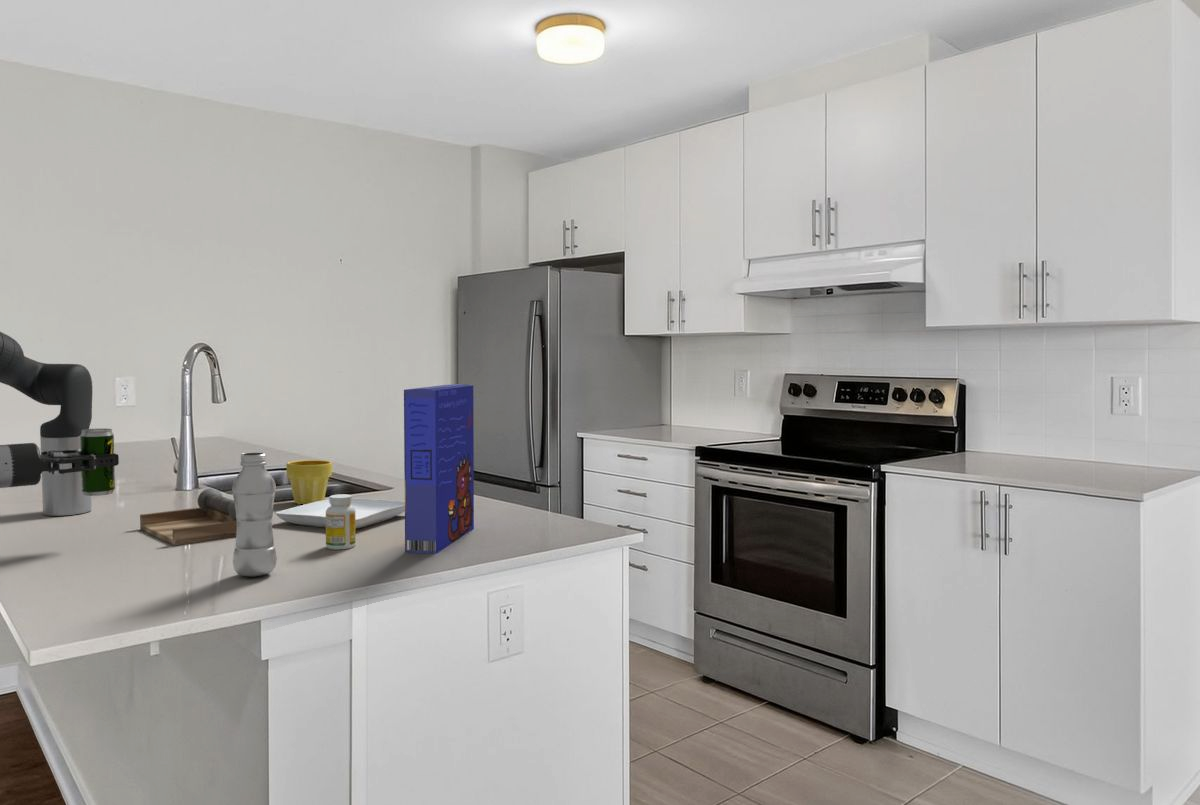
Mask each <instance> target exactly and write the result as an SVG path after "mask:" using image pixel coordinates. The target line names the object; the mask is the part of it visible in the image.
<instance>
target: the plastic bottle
mask: <svg viewBox="0 0 1200 805" xmlns="http://www.w3.org/2000/svg"><path fill="white" fill-rule="evenodd" d="M239 463H240V466H241V467H242V469H241V470H240V471H239V473H238V474H237V475H236V478H235V479H234V481H233V483H232V487H231V488H232V489H231V490H232V493H233V494H232V496H233V500H234V503H235V509H236V519H237V522H236V523H237V532H236V537H235V545H234V547H235V548H234V550H233V556H232V565H233V570H234V572H235V573H236V574H237V575H239V576H242V577H253V578H254V577H261V576H263V575H268V574H270V573H272V572H273V571H274V569H275V568H276V567H277V566H276V565H277V559H278V558H277V551H276V546H275V545H274V544H275V543H274V532H273V531H274V530H273V514H274V513H273V512H274V502H275V497H276V489H277V488H276V487H277V486H276V482H275V478H274V477H273V476H272V475H271V473H270V472H269V471H268V470H267V468H266V467H265V465H267V459H266V453H265V452H244V453H241V454H240V462H239Z"/></svg>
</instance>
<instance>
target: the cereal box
mask: <svg viewBox="0 0 1200 805" xmlns="http://www.w3.org/2000/svg"><path fill="white" fill-rule="evenodd" d="M403 429H404V431H403V441H404V442H403V449H404V450H403V451H404V452H403V453H404V456H403V457H404V462H403V463H404V501H405V512H404V552H405V553H415V554H416V553H419V554H433V555H434V554H439V552H441V551H442V550H444V549H445V548H447V547H449V546H450V545H452V544H453V543H455V542H456V541H458V540H459V539H460V538H463V537H464V536H465V535H467V534H468V533H470V532H472V531H473V530H474V529H475V524H474V523H475V522H474V521H475V513H474V510H475V508H474V507H475V506H474V505H475V503H474V502H475V500H474V499H475V498H474V494H475V493H474V492H475V488H474V484H475V483H474V482H475V481H474V480H475V479H474V477H475V475H474V474H475V472H474V471H475V470H474V469H475V466H474V461H475V460H474V456H475V455H474V453H475V452H474V441H475V440H474V436H475V435H474V385H471V384H466V383H458V384H457V383H454V384H442V385H434V386H433V385H432V386H426V387H423V386H422V387H416V388H415V387H414V388H408V389H403Z"/></svg>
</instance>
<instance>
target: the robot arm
mask: <svg viewBox="0 0 1200 805" xmlns="http://www.w3.org/2000/svg"><path fill="white" fill-rule="evenodd" d="M0 384H4V385H6V386H9V387H11V388H13V389H15V390H17V391H18V392H20V393H21V394H23V395H25V396H26V397H28V398H29V399H31V400H34V402H37V403H40V404H42V405H46V406H47V405H48V406H60V410H59V414H58V415H57V416H56V417H55V418H53V419H51V420H49V421H46V422H43V423H41V424H40V427H39V432H40V434H39V435H40V436H39V437H40V438H39V441H40V448H39V446H38V445H37V443H35V442H27V443H10V444H0V489H6V488H15V487H16V488H17V487H26V486H27V487H28V486H36V485H38V484H39V483H40V481H41V487H42V488H41V490H42V514H43V515H44V516H52V517H53V516H59V517H60V516H71V515H72V516H73V515H78V514H79V515H81V514H84V513H85V514H86V513H89V512H91V511H92V496H86V495H84V494H83V492H82V481H81V471H93V470H95V468H96V467H106V466H118V465H119V464H120V462H119V461H120V459H119V454H118V453H114V454H102V455H93V454H90V455H81V446H80V435H81V433H82V430H84V429H90V425H91V422H92V417H93V380H92V376H91V373H90V371H89V370H88V369H87V367H85V366H84V365H82V364H77V363H46V362H41V361H37V360H34V359H32V358H31V357H30V358H29V357H27V356H25V354H24V350H23V348H22V346H21V345H20V344H19V343H18V341H17V340H15V339H14V338H13V337H11V336H10V335H8V334H6V333H4V332H1V331H0ZM82 460H87V466H82V465H81V461H82Z"/></svg>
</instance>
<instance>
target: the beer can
mask: <svg viewBox="0 0 1200 805" xmlns="http://www.w3.org/2000/svg"><path fill="white" fill-rule="evenodd" d="M114 436H115V435H114V432H113V428H103V427H102V428H89V429H84V430H82V433H81V435H80V446H81V455H90V454H93V455H102V454H115V437H114ZM81 465H82V466H87V460H82V461H81ZM115 471H116V468H115V466H106V467H96V468H95V470H93V471H81V481H82V492H83V494H84V495H86V496H91V497H95V496H96V497H97V496H107V495H111V494H114V492H115V490H116V475H115V474H116V473H115Z"/></svg>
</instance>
